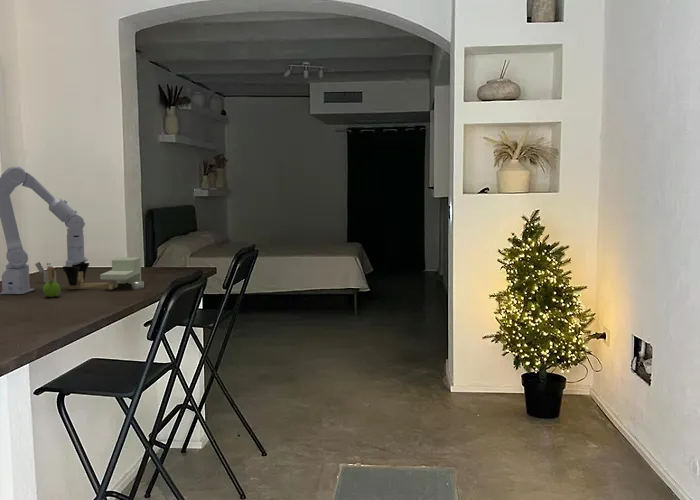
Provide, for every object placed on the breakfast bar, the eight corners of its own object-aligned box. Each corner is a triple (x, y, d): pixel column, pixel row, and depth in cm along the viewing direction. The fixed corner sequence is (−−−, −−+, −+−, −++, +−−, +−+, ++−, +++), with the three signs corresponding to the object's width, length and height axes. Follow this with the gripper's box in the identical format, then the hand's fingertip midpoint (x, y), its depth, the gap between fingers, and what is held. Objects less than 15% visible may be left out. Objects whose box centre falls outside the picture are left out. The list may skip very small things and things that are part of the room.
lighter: (56, 281, 249) (55, 261, 249) (55, 282, 248) (54, 262, 247) (37, 282, 248) (36, 261, 247) (35, 282, 246) (34, 262, 246)
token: (142, 289, 234) (142, 282, 234) (130, 289, 234) (129, 282, 233) (145, 287, 238) (145, 280, 238) (133, 287, 238) (133, 280, 238)
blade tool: (111, 289, 232) (111, 273, 232) (66, 289, 231) (66, 273, 231) (117, 286, 239) (117, 270, 239) (74, 286, 238) (73, 270, 238)
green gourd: (41, 299, 211) (39, 263, 210) (44, 296, 217) (43, 261, 216) (58, 298, 213) (57, 263, 211) (62, 295, 219) (60, 260, 218)
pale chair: (126, 291, 229) (125, 263, 228) (100, 291, 228) (100, 263, 228) (141, 282, 248) (140, 257, 247) (117, 282, 248) (117, 257, 247)
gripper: (79, 249, 226) (80, 286, 228) (93, 245, 241) (94, 281, 242) (59, 249, 226) (60, 286, 227) (74, 245, 240) (75, 281, 242)
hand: (76, 283), depth 235 cm, fingers open, 7 cm apart
